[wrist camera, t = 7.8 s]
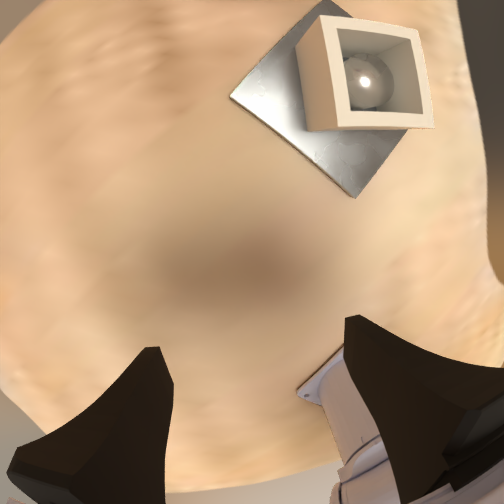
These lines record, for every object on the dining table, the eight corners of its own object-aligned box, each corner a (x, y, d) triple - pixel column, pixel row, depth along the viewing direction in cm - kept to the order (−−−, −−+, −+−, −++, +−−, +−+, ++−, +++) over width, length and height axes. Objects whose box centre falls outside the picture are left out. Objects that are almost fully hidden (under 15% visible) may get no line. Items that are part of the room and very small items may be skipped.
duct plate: (424, 97, 17) (462, 92, 13) (350, 196, 19) (381, 210, 15) (322, 1, 14) (345, -27, 10) (229, 98, 16) (231, 82, 12)
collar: (387, 130, 17) (434, 128, 12) (307, 132, 16) (338, 126, 12) (375, 51, 15) (417, 30, 10) (295, 46, 14) (319, 15, 10)
